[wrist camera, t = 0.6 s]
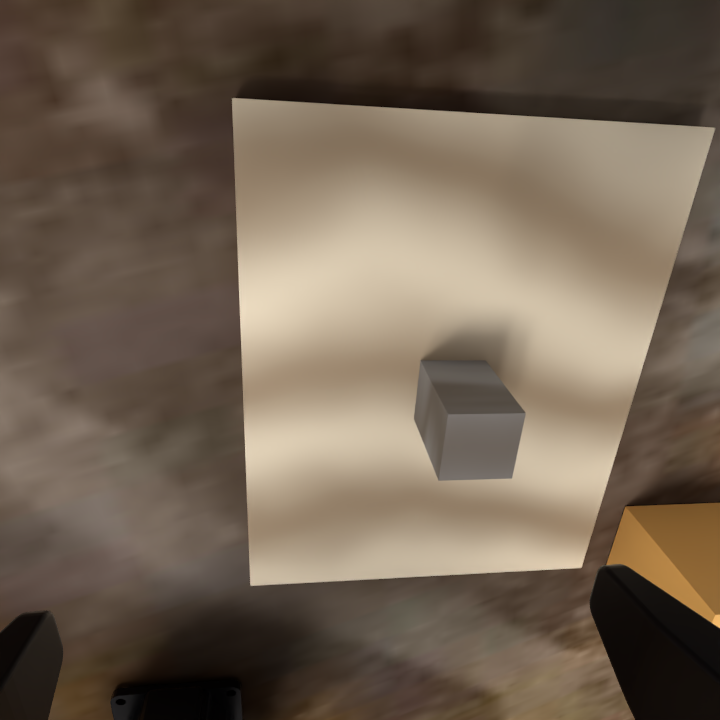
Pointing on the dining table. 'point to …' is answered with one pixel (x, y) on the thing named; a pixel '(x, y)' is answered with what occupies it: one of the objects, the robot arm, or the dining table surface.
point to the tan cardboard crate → (674, 551)
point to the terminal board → (443, 329)
